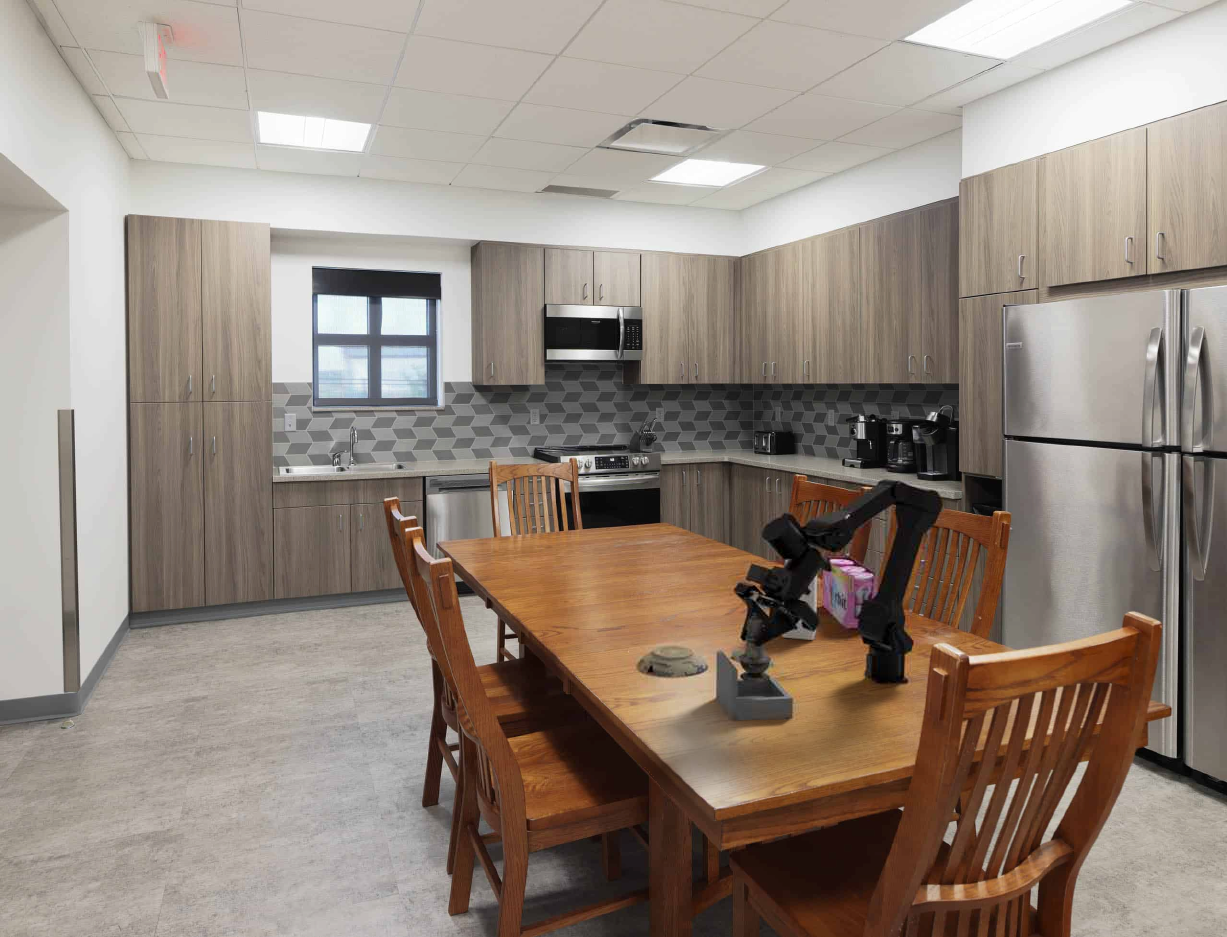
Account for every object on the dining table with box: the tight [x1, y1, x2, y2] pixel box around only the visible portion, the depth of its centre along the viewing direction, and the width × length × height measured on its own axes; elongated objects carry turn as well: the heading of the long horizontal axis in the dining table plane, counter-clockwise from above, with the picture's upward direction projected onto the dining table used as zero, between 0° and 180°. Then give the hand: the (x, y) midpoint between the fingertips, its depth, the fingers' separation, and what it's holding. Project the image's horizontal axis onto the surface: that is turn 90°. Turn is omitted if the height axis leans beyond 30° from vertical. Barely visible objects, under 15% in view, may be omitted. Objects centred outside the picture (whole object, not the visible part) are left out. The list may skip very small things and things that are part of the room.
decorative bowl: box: [637, 645, 709, 678], centre depth 173 cm, size 15×4×15 cm
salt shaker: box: [738, 612, 772, 682], centre depth 149 cm, size 6×6×12 cm
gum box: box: [822, 556, 879, 629], centre depth 210 cm, size 24×8×14 cm, turn 1°
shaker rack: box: [715, 650, 794, 721], centre depth 149 cm, size 11×11×9 cm
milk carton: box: [781, 559, 818, 641], centre depth 194 cm, size 7×7×19 cm
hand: (748, 642), depth 148 cm, fingers closed on salt shaker, 4 cm apart
